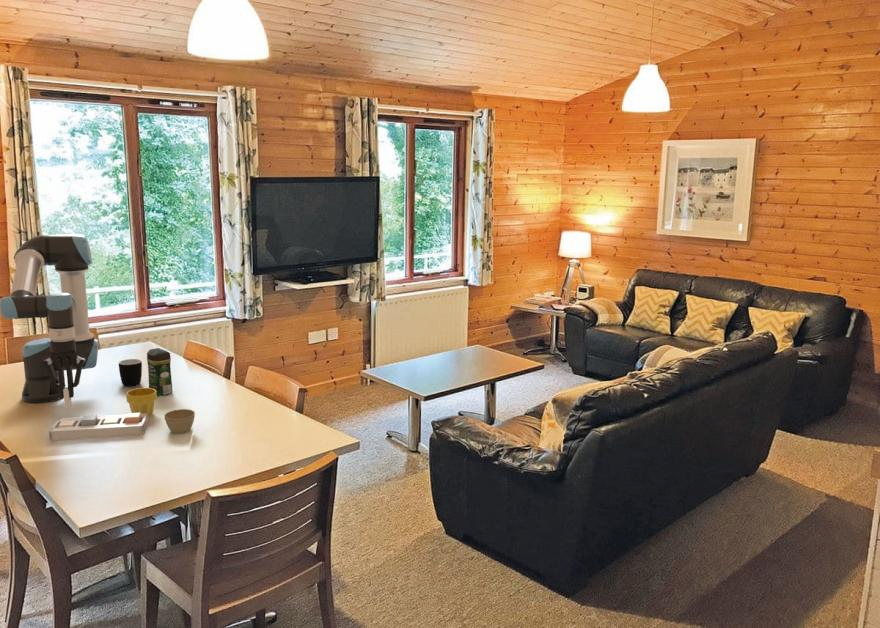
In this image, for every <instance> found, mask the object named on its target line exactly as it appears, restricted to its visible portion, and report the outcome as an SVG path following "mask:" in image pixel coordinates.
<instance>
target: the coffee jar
mask: <svg viewBox="0 0 880 628" xmlns="http://www.w3.org/2000/svg"><path fill="white" fill-rule="evenodd" d="M171 358H172V357H171V353H170V352H169V351H167V350H165V349H162V348H159V347H157V348H151V349H149V350H148V351H147V353H146V361H147V368H148V369H147V371H148V388H152V389H155V390H156V392H157V397H165V396H168V395H171V394H173V391H174V390H173V382H172V380H173V379H172V371H171V360H172V359H171Z"/></svg>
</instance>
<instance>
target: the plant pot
mask: <svg viewBox="0 0 880 628" xmlns="http://www.w3.org/2000/svg"><path fill="white" fill-rule="evenodd" d="M157 399H158V396H157V392H156V390H155V389H152V388H149V387H139V388H134V389H131V390H128V391H127V392H126V402H127V403H128V404H129V408H130V413H140V414H141V413H148V417H150V416H152V415H153V414H154V413H153V412H154V409H155V403H156V401H157Z"/></svg>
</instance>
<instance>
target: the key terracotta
mask: <svg viewBox="0 0 880 628" xmlns="http://www.w3.org/2000/svg"><path fill="white" fill-rule="evenodd" d="M140 420H141V415H140V413H132V412H128V413H126V416H125V423H139V422H140Z"/></svg>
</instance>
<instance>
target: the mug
mask: <svg viewBox="0 0 880 628" xmlns="http://www.w3.org/2000/svg"><path fill="white" fill-rule="evenodd" d="M118 371H119V376H120V380H121V384H122V386H123V387H126V388H131V387H137V386H140V384H141V382H142V376H143V375H142V374H143V362H142V360H141V359H138V358H128V359H122V360H119V362H118Z"/></svg>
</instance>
